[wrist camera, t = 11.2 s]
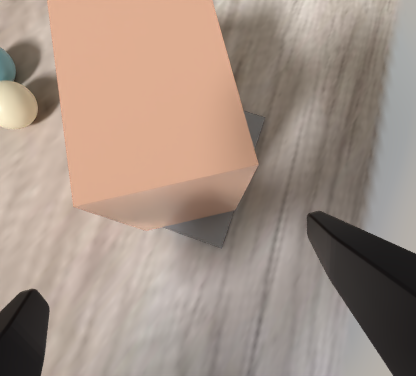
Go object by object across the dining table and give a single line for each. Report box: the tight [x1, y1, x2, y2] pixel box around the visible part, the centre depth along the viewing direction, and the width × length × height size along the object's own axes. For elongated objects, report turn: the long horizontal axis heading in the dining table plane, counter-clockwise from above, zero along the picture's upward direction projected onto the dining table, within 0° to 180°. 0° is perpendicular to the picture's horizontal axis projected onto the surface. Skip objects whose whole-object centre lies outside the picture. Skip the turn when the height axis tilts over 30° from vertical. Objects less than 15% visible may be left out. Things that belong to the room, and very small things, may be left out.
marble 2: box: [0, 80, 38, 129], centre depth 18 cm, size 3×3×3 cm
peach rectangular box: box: [47, 0, 259, 231], centre depth 14 cm, size 8×6×9 cm
